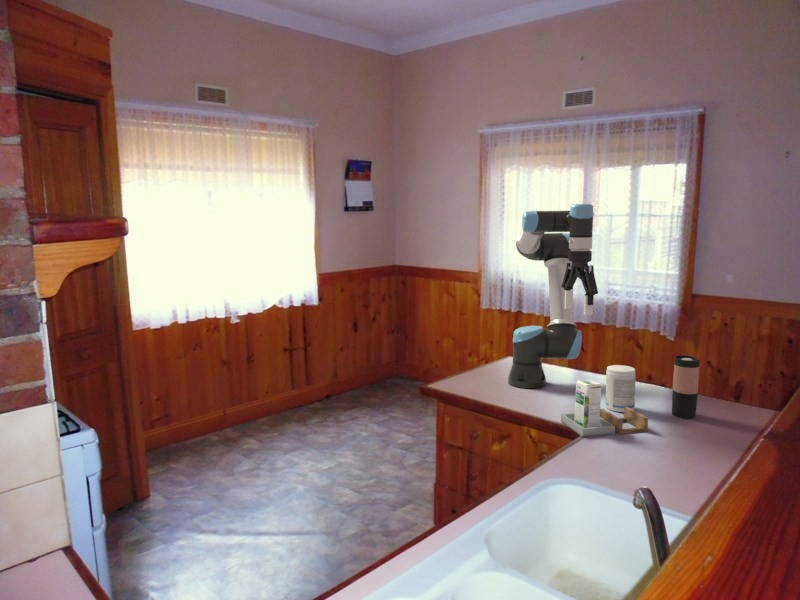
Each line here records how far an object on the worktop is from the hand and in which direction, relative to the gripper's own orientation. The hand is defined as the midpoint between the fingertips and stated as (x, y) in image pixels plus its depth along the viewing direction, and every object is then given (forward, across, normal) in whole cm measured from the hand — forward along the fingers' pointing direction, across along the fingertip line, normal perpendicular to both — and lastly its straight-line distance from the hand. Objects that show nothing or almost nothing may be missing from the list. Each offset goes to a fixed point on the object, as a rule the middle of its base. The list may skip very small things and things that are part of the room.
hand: (578, 311), depth 192 cm
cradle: (+35, +20, +6) cm, 40 cm away
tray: (+35, +18, -6) cm, 39 cm away
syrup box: (+34, +18, -6) cm, 39 cm away
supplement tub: (+35, +4, +15) cm, 38 cm away
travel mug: (+35, +15, +32) cm, 50 cm away
